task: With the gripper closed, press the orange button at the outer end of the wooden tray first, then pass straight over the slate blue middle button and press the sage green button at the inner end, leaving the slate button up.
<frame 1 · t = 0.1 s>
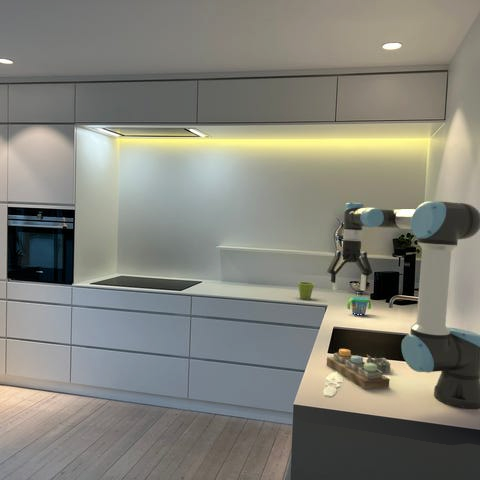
hand: (348, 290, 194), 28 cm above the counter, tool pointing down, fingers open, 13 cm apart
plant pot: (305, 299, 326), on the counter
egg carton: (378, 369, 182), on the counter
slate button: (356, 360, 172), point 6 cm above the counter, slide at 0.0 cm
wooden tray: (355, 375, 172), on the counter
cream scalloped strip: (333, 383, 164), on the counter
orange button: (344, 353, 180), point 6 cm above the counter, slide at 0.0 cm
snack cup: (358, 314, 282), on the counter
sage button: (370, 368, 164), point 6 cm above the counter, slide at 0.0 cm
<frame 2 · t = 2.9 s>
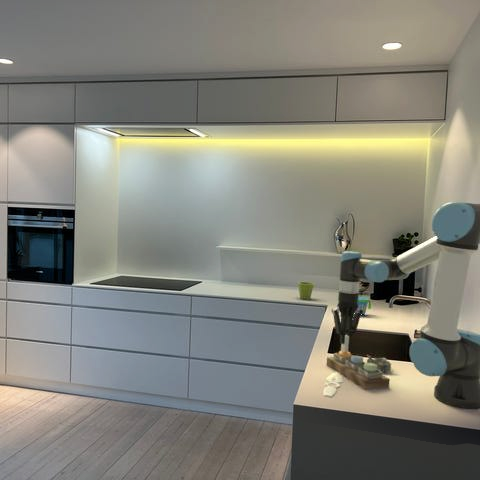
hand: (344, 351, 180), 6 cm above the counter, tool pointing down, fingers closed
orange button: (344, 355, 180), point 5 cm above the counter, slide at 0.8 cm, touching gripper
everything else where it was.
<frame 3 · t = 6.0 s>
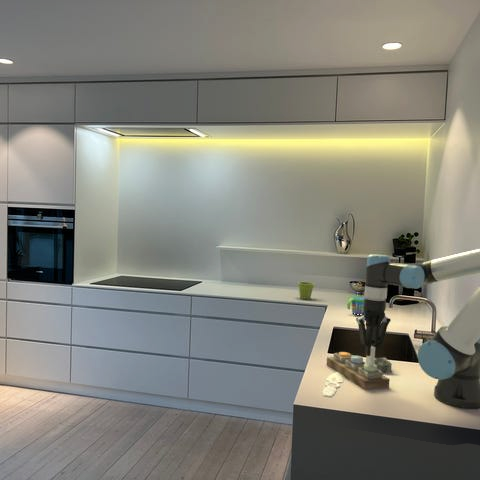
hand: (369, 364, 164), 7 cm above the counter, tool pointing down, fingers closed
orange button: (344, 356, 180), point 4 cm above the counter, slide at 1.2 cm
sage button: (370, 368, 164), point 5 cm above the counter, slide at 0.2 cm, touching gripper
everything else where it was.
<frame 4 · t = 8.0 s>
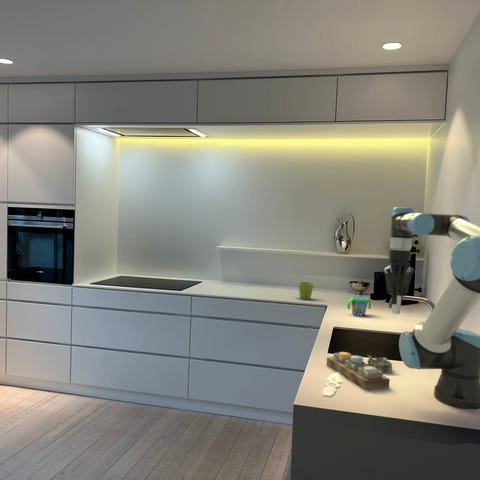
hand: (395, 312, 171), 24 cm above the counter, tool pointing down, fingers closed
sage button: (370, 371, 164), point 4 cm above the counter, slide at 1.2 cm
everything else where it was.
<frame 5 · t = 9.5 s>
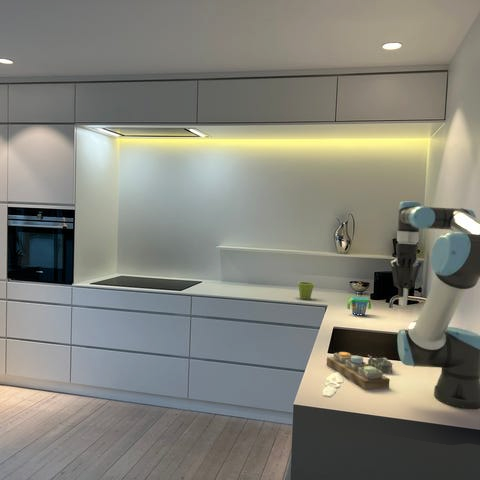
hand: (402, 305, 174), 26 cm above the counter, tool pointing down, fingers closed
nothing on the counter moved.
at the end: orange button slide at 1.2 cm; sage button slide at 1.2 cm; slate button slide at 0.0 cm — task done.
